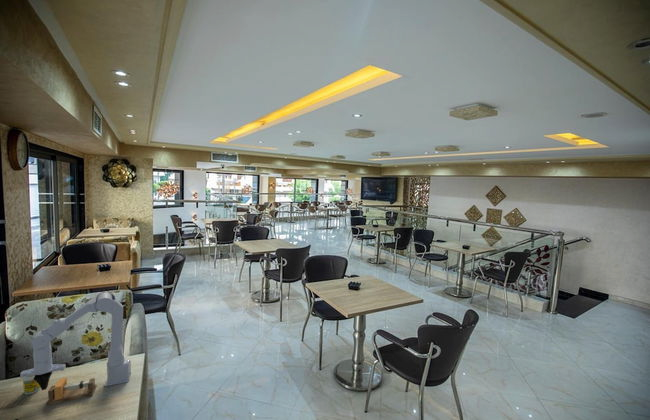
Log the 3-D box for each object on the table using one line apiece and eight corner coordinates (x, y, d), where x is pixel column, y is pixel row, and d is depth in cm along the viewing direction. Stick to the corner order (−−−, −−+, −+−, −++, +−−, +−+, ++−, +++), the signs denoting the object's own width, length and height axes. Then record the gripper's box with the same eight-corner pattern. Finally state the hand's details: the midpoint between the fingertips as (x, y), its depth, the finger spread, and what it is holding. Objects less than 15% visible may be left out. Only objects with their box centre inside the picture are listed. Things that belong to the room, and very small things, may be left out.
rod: (94, 383, 139) (94, 378, 139) (92, 386, 137) (92, 381, 137) (51, 391, 133) (50, 386, 133) (49, 394, 131) (48, 390, 131)
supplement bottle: (41, 385, 141) (40, 365, 140) (38, 392, 137) (37, 372, 135) (25, 389, 138) (24, 369, 137) (22, 396, 134) (21, 376, 132)
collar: (67, 389, 137) (66, 377, 136) (62, 398, 132) (61, 386, 131) (60, 391, 136) (59, 378, 135) (55, 400, 131) (54, 387, 130)
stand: (96, 385, 142) (96, 375, 141) (92, 396, 136) (91, 385, 135) (53, 394, 136) (52, 383, 135) (46, 405, 129) (45, 394, 129)
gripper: (67, 350, 136) (69, 378, 138) (25, 357, 130) (27, 386, 132) (61, 359, 130) (62, 388, 131) (16, 366, 124) (19, 397, 126)
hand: (44, 388), depth 131 cm, fingers closed
